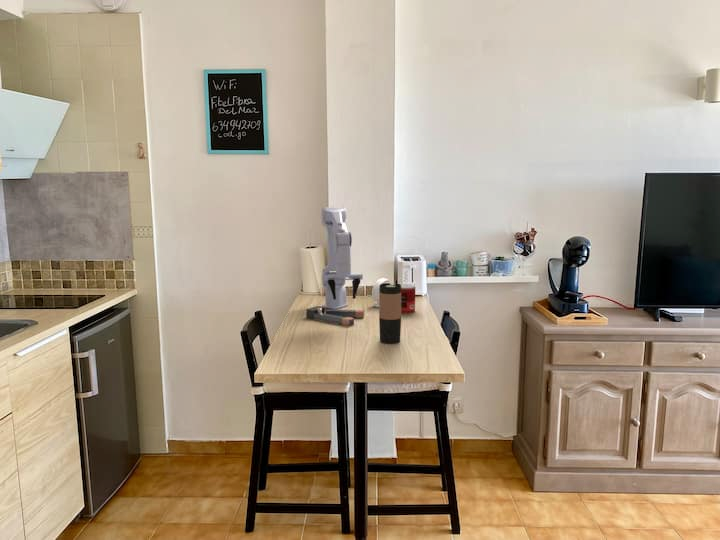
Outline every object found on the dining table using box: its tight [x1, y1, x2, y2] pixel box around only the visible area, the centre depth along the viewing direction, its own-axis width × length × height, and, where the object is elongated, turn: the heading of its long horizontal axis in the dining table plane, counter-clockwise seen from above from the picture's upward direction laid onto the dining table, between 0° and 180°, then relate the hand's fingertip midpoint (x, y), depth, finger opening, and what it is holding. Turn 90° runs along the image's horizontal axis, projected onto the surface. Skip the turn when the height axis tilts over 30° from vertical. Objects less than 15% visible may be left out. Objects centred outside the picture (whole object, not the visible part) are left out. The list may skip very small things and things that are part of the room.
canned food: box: [400, 283, 416, 314], centre depth 237 cm, size 8×8×11 cm
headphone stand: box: [371, 277, 390, 308], centre depth 246 cm, size 5×6×12 cm
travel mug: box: [378, 282, 402, 345], centre depth 194 cm, size 8×8×20 cm
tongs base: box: [305, 305, 355, 327], centre depth 223 cm, size 22×7×4 cm, turn 54°
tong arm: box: [325, 308, 365, 319], centre depth 228 cm, size 16×3×3 cm, turn 84°
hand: (344, 298), depth 216 cm, fingers open, 7 cm apart
